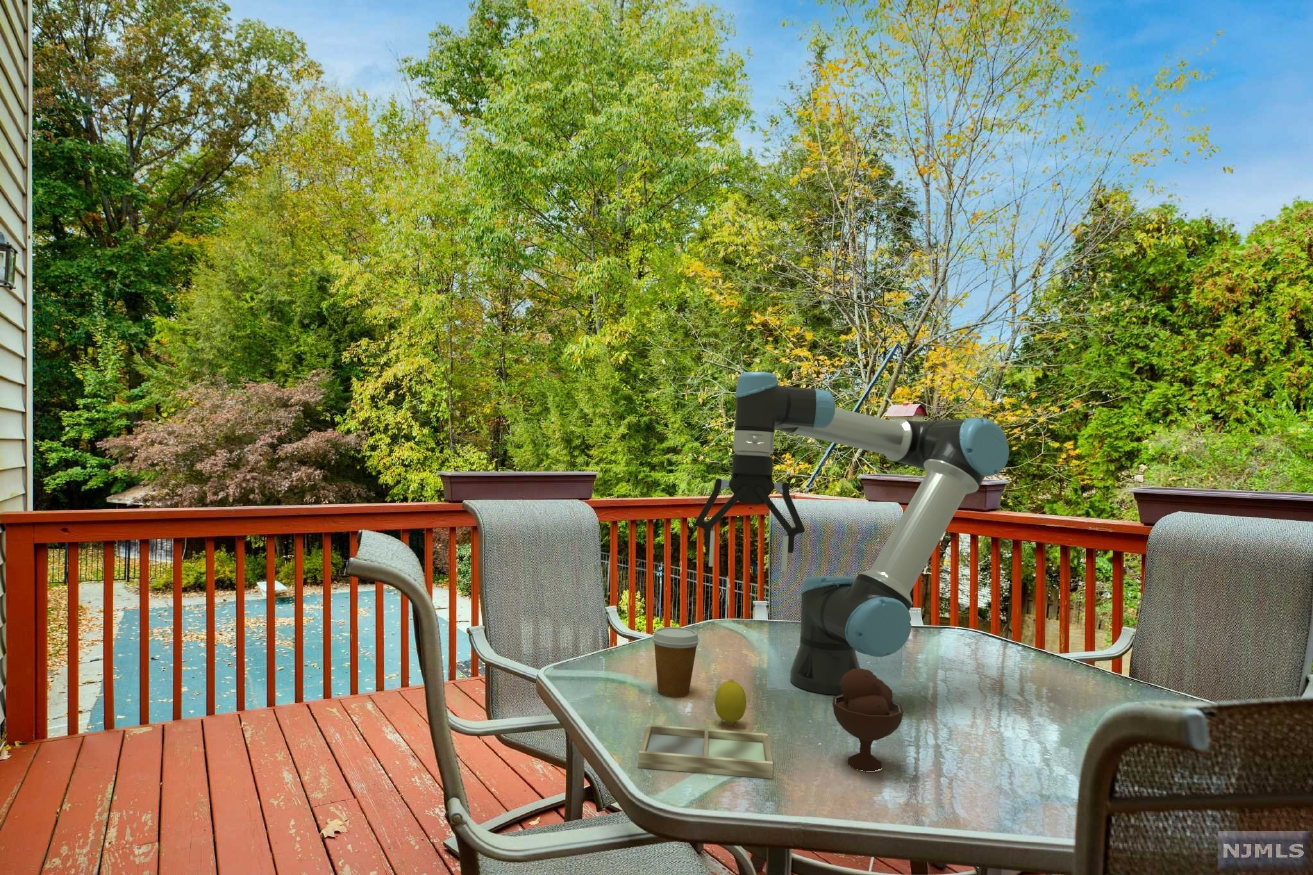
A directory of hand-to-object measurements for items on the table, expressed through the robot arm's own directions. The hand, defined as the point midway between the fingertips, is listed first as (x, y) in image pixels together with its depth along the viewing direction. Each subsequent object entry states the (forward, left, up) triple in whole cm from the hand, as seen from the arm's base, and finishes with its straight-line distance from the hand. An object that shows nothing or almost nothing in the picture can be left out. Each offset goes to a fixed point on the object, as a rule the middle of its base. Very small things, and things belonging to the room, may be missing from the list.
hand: (747, 568), depth 137 cm
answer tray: (+6, +21, -27) cm, 35 cm away
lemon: (+2, +6, -27) cm, 28 cm away
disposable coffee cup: (+13, -10, -27) cm, 32 cm away
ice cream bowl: (-19, +19, -27) cm, 38 cm away
